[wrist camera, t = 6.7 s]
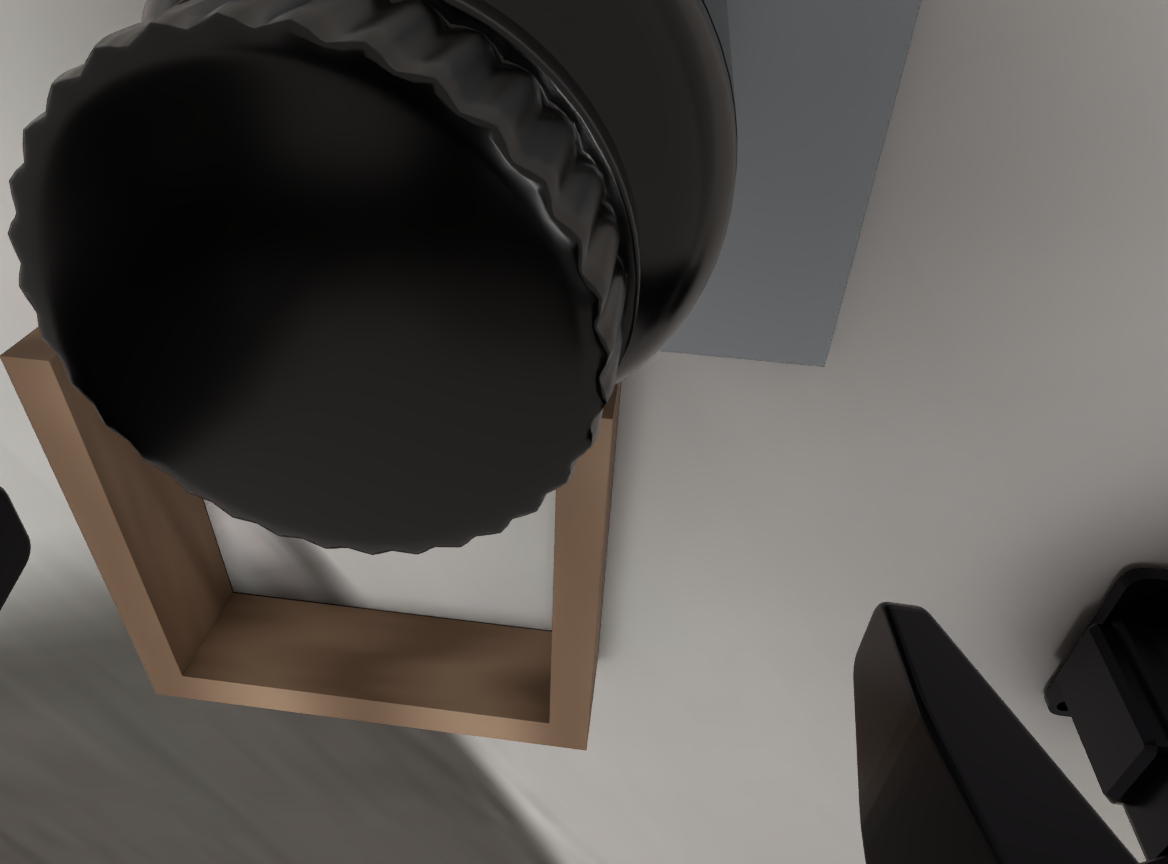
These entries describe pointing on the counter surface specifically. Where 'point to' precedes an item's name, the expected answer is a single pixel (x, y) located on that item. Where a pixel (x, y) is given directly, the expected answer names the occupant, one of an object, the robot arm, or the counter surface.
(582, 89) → the supplement bottle
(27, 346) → the walnut frame
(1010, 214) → the counter surface
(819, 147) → the grey mat
